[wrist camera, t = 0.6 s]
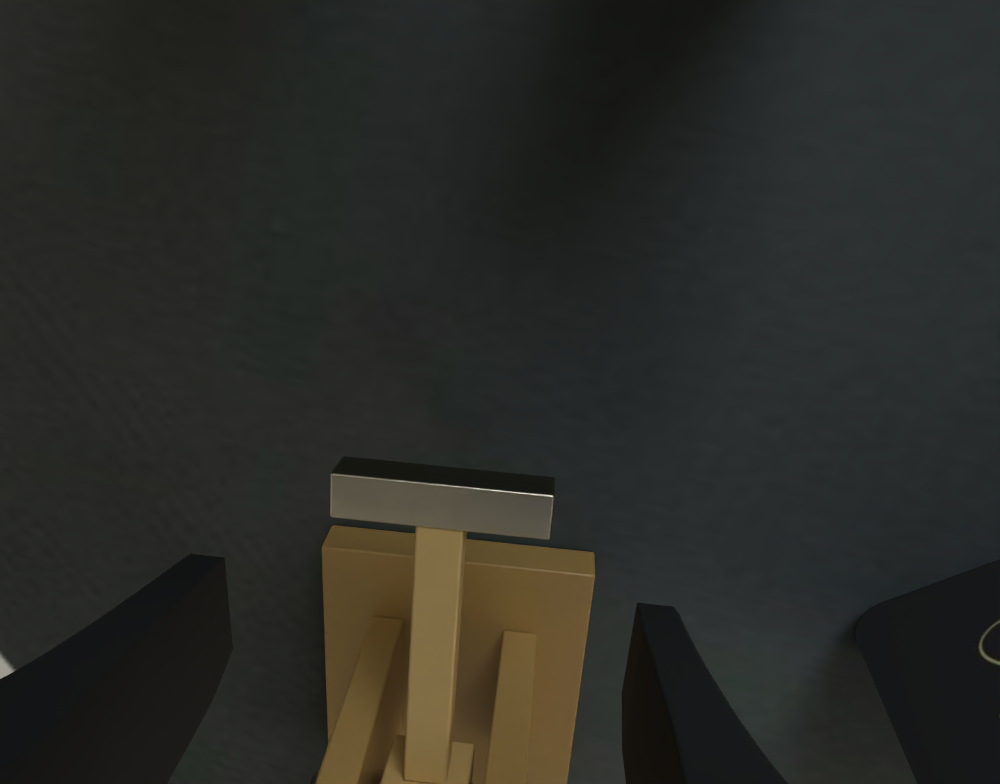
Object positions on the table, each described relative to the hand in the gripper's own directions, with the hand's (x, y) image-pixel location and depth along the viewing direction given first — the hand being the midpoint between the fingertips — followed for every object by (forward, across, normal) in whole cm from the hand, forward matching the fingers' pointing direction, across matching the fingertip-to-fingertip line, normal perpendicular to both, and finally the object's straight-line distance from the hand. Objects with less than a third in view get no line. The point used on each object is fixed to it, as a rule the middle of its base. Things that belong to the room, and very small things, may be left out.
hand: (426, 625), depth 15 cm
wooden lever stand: (+10, 0, +9) cm, 13 cm away
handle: (+5, 0, +6) cm, 8 cm away
